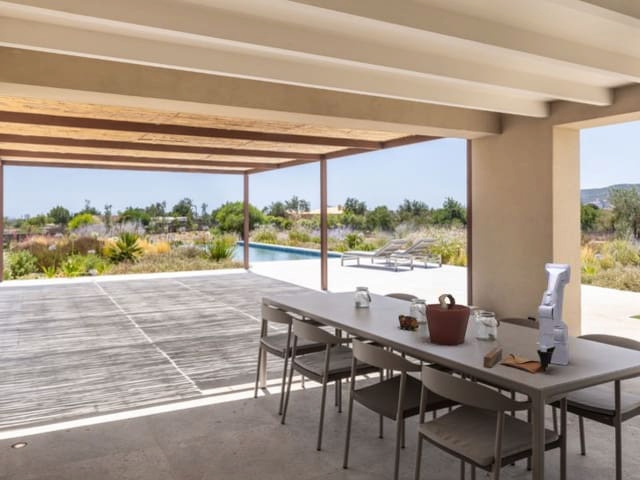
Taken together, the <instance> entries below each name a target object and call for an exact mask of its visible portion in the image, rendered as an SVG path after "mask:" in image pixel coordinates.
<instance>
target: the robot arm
mask: <svg viewBox="0 0 640 480" xmlns="http://www.w3.org/2000/svg"><path fill="white" fill-rule="evenodd" d="M544 266H545V267H544V274H545V277H546V281H547V290H545V291H544V292H543V296H542V299H541V303H540V305H539V306H538V308H537V318H538V323H539V328H538V329H539V331H538V333H539V336H538V338H539V339H538V341H537V342H536V343H535V344H536V346H539V347H540V349H537V350H536V353H537V354H538V357H539V362H541V366H542V367H543V368H546V369H547V368H548V367H549V364H555V365H556V364H557V365H562V366H567V365H568V364H569V362H570V343H567V341H568V338H569V329H568V325H567V324H566V323H565V321H563V320H562V318H563V306H564V295H565V294H564V293H565V287H566V285H568V284H569V283H570V281H571V265H570V264H569V263H567V264H565V263H549V262H547V263H545V265H544Z"/></svg>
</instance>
